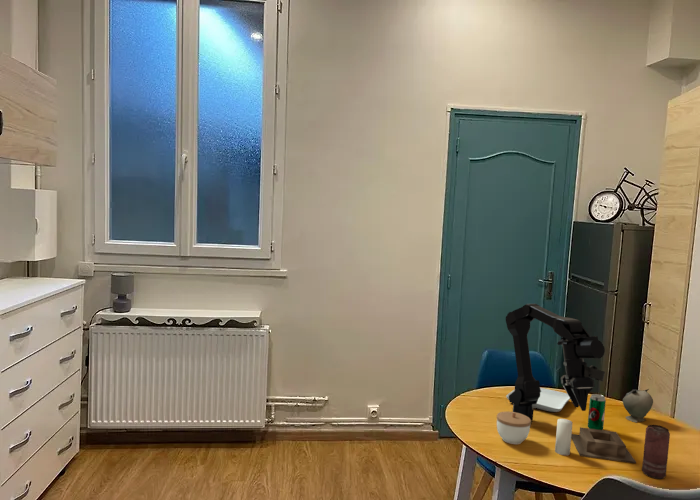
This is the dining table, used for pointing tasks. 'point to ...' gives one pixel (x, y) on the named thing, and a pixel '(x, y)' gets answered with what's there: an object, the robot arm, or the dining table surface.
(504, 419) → the lidded jar
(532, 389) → the robot arm
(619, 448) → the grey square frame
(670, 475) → the dining table surface
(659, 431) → the can
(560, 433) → the cream peg
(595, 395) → the soda can
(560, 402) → the salad plate
